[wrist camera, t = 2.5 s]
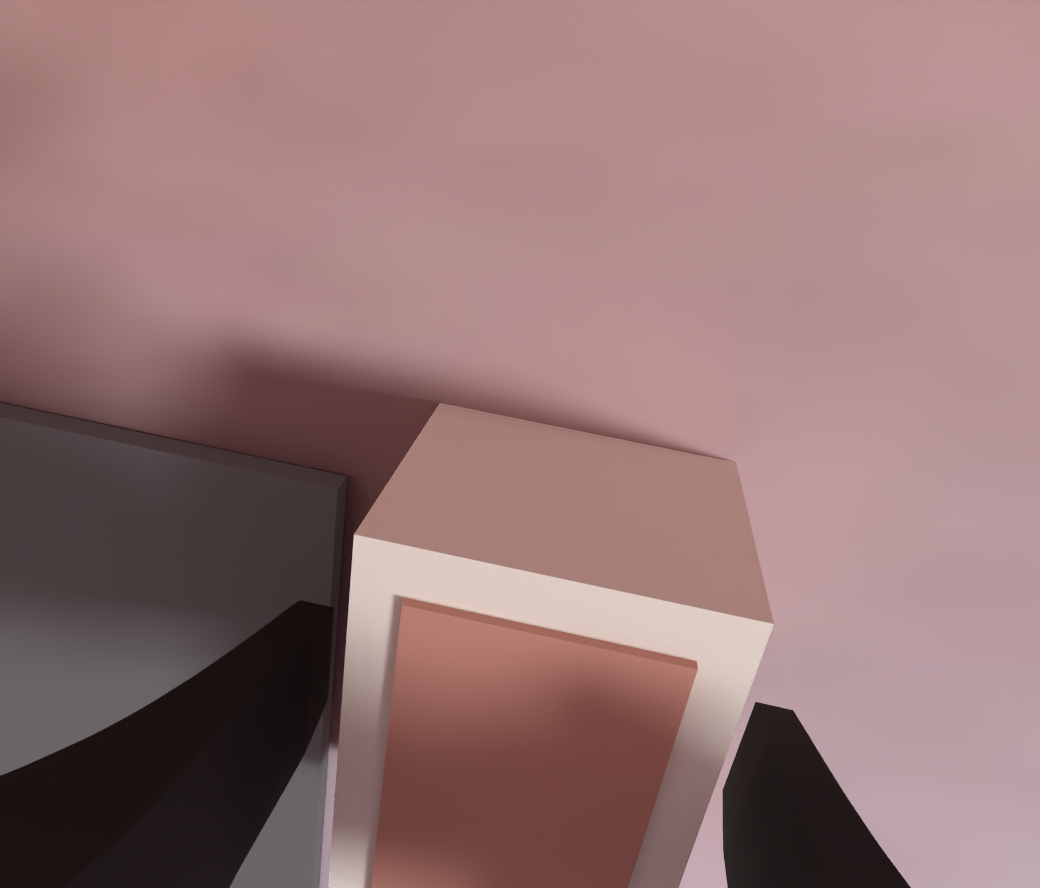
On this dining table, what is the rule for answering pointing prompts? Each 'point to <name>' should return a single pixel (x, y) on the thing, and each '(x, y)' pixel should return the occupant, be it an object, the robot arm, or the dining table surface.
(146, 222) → the dining table surface
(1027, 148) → the dining table surface
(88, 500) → the charcoal mat
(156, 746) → the robot arm
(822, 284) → the dining table surface
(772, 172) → the dining table surface
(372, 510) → the card deck
